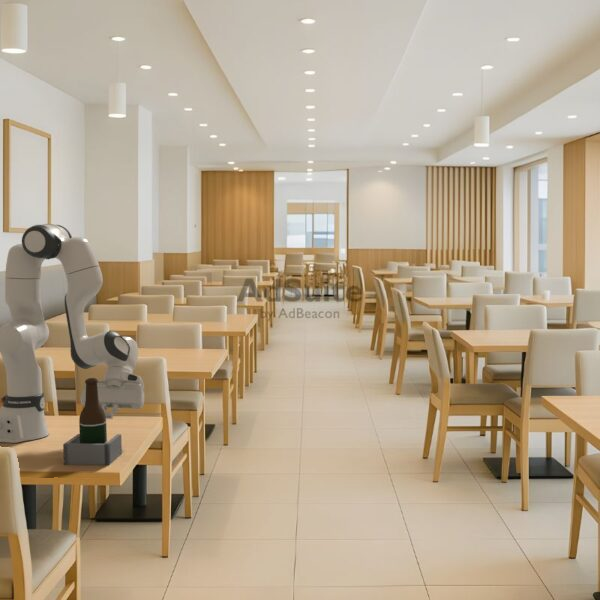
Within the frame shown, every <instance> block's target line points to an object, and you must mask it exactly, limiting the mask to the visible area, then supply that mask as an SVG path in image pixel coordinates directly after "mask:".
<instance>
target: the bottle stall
mask: <svg viewBox="0 0 600 600" xmlns="http://www.w3.org/2000/svg"><path fill="white" fill-rule="evenodd" d="M122 445H123V444H122V434H115V436H113V437H112V438H110V440H107V443H106V444H88V443H80V433H78V434H76V435H74V436H73V437H72V438H70V439H69V440H67V441H65V442H64V443H63V445H62V446H63V447H62V448H63V450H62V451H63V465H65V466H66V465H67V466H69V465H70V466H71V465H72V466H76V465H78V466H110V465H111V464H112V463H113V462H115V460H117V459H118V458H119V457H120V456H121V455H122V454H123V449H122V448H123V447H122Z"/></svg>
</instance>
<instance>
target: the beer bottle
mask: <svg viewBox="0 0 600 600" xmlns="http://www.w3.org/2000/svg"><path fill="white" fill-rule="evenodd" d="M98 381H99V380H98V378H95V377H90V378H86V379H85V381H84V383H85V384H86V401H85V407H84V406H83V408H82V410H81V411H80V415H79V420H78V422H79V423H78V424H79V425H78V427H79V434H80V443H88V444H106V443H107V442H108V440H107V437H108V436H107V435H108V434H107V433H108V432H107V430H108V429H107V419H106V415H105V412H104V410H103V409H102V407H101V406H100V404H99V398H98V388H97V383H98Z"/></svg>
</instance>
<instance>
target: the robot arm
mask: <svg viewBox="0 0 600 600" xmlns="http://www.w3.org/2000/svg"><path fill="white" fill-rule="evenodd" d="M52 259H57V260H59V262H60V263H61V264H62V267H63V269H64V274H65V277H66V281H67V282H66V283H67V288H66V289H67V292H66V294H65V296H64V310H65V315H66V323H67V328H68V335H69V340H70V342H69V343H70V350H69V351H70V357H71V360H72V362H74V364H75V365H76V366H78V367H79V368H80V369H83V370H88V369H90V368H94V367H95V366H98V365H101V364H105V365H107V368H106V371H105V374H104V377H103V380H98V383H97V388H98V398H99V404H100V406H101V407H102V409H103V410H104V412H105V415H106V420H113V419H114V417H115V416H114V415H116V413H118V412H119V410H120V409H128V410H129V409H133V410H134V409H135V410H141V409H142V408H143V407H144V404H145V395H146V394H145V392H144V391H145V384H144V380H143V379H142V377H141V376H140V375H137V374H134V373H133V372H134V370H135V368H136V365H137V360H138V357H139V356H138V355H139V346H138V343H137V341H135V339H134V338H131V337H130V336H122V335H121V334H120V333H118V332H116V331H114V330H109V331H108V330H107V331H104V332H103V331H102V332H100V333H97V334H95V335H91V336H88V333H87V326H86V320H85V314H84V313H85V308H86V306H87V304H88V303H89V302H90V301H91V300H92V299H93V298H94V297H96V295H97V294H98V293H99V292H100V290H101V289H102V286H103V284H104V279H103V272H102V269H101V267H100V264H99V261H98V259H97V256H96V253H95V251H94V249H93V247H92V245H91V244H90V242H89V240H88V239H86V238H84V237H82V236H76V237H73V236H72V233H70V231H69V230H68V229H67V227H64V226H63V225H59V224H52V223H44V224H35V225H32V226H30V227H28V228H27V229H26V230H25V232H24V233H22V236H21V243H19V244H15V245H12V246H11V247H10V248H9V250H8V253H7V258H6V265H5V274H4V275H5V277H4V278H5V283H4V284H5V285H4V286H5V287H4V288H5V291H4V296H5V297H4V299H5V300H4V301H5V303H6V304H7V306H8V308H9V311H10V316H11V321H10V322H7V323H4V325H3V324H2V326H1V327H0V355H1V358H2V361H3V364H4V368H5V375H6V391H7V392H6V393H7V394H5V395H4V396H3V397H1V398H0V403H2V405H1V407H0V443H13V444H15V443H22V442H26V441H33V440H37V439H41V438H45V437H47V436H49V434H50V432H49V429H48V426H47V422H46V416H45V411H44V410H45V406H46V405H45V402H46V401H45V395H44V394H45V393H44V392H43V376H42V375H43V374H42V369H41V367H40V366H39V364H38V362H37V361H38V360H37V357H36V353H35V350H37V349H39V348H41V347H42V346H43V345H44V344H45V343H46V342H47V341H48V339H49V337H50V328H49V326H48V324H47V323H46V321H45V315H44V312H43V307H42V293H41V292H42V289H41V288H42V287H41V285H42V283H41V282H42V264H43V262H44V261H45V260H52ZM83 387H84V388H83V391H82V393H81V395H80V398H79V400H80V404H81V405H82V407H83V408H84V407H85V401H86V383H85V384H84V386H83ZM109 408H111V411H108V409H109Z"/></svg>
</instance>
